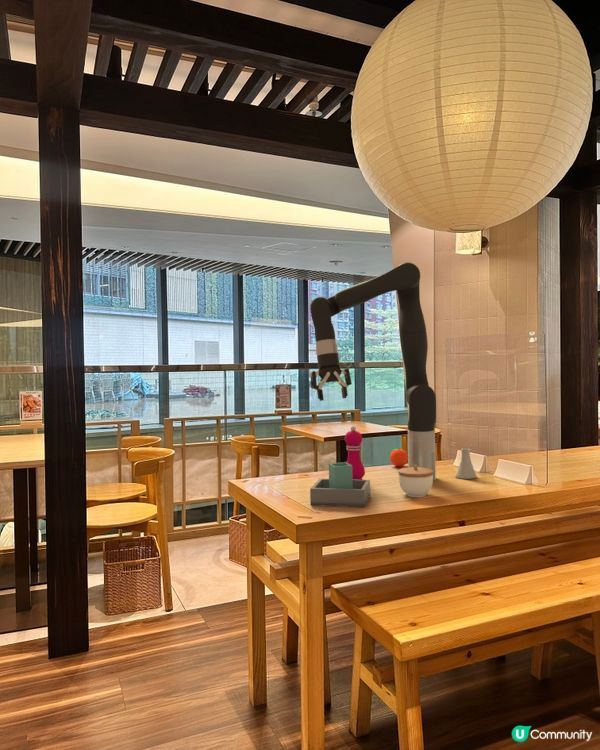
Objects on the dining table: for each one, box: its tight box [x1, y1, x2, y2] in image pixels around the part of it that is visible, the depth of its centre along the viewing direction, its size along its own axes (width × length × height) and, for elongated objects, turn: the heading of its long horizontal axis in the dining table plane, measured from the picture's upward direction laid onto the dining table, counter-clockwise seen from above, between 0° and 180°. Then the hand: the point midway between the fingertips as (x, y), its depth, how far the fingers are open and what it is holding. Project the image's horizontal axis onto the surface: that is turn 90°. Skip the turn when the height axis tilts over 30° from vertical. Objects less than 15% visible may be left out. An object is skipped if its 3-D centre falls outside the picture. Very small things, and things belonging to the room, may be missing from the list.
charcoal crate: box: [309, 478, 371, 508], centre depth 182 cm, size 16×14×5 cm
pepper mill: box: [344, 425, 366, 480], centre depth 202 cm, size 7×7×20 cm
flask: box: [455, 448, 477, 480], centre depth 210 cm, size 7×7×10 cm
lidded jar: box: [397, 465, 434, 498], centre depth 186 cm, size 11×11×9 cm
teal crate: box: [328, 461, 353, 489], centre depth 182 cm, size 6×6×10 cm
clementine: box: [387, 448, 408, 468], centre depth 232 cm, size 8×7×7 cm
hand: (333, 399), depth 208 cm, fingers open, 8 cm apart
